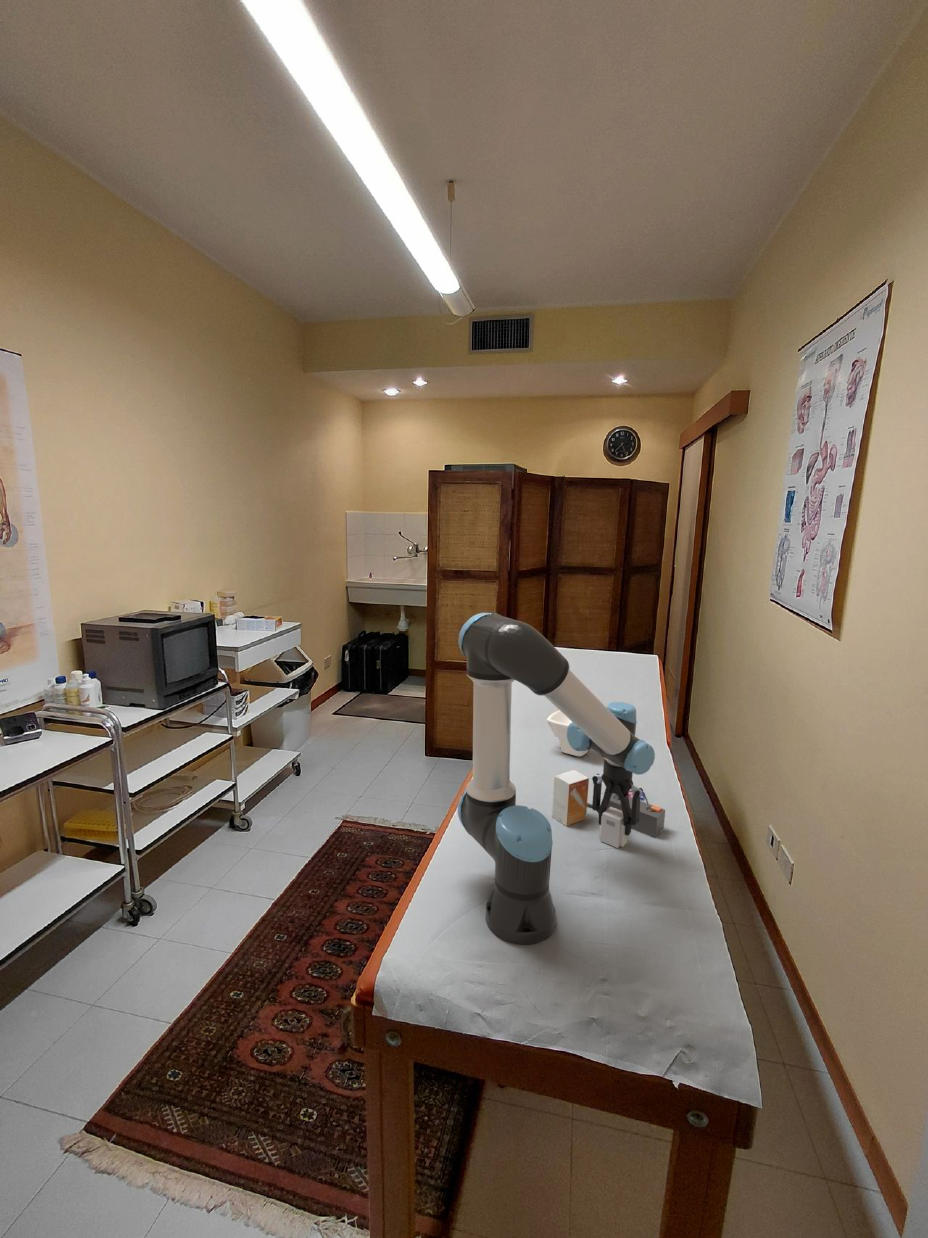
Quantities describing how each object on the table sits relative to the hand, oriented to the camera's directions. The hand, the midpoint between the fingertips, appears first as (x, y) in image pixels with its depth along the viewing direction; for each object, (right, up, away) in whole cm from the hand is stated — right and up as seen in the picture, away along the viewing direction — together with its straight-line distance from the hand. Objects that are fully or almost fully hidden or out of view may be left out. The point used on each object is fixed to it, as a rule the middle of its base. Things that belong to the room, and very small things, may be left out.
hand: (613, 840), depth 147 cm
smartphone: (+13, +2, +21) cm, 25 cm away
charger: (+1, 0, +1) cm, 1 cm away
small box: (-10, +2, +11) cm, 15 cm away
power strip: (+5, +2, +12) cm, 13 cm away
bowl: (+1, +9, +58) cm, 59 cm away
